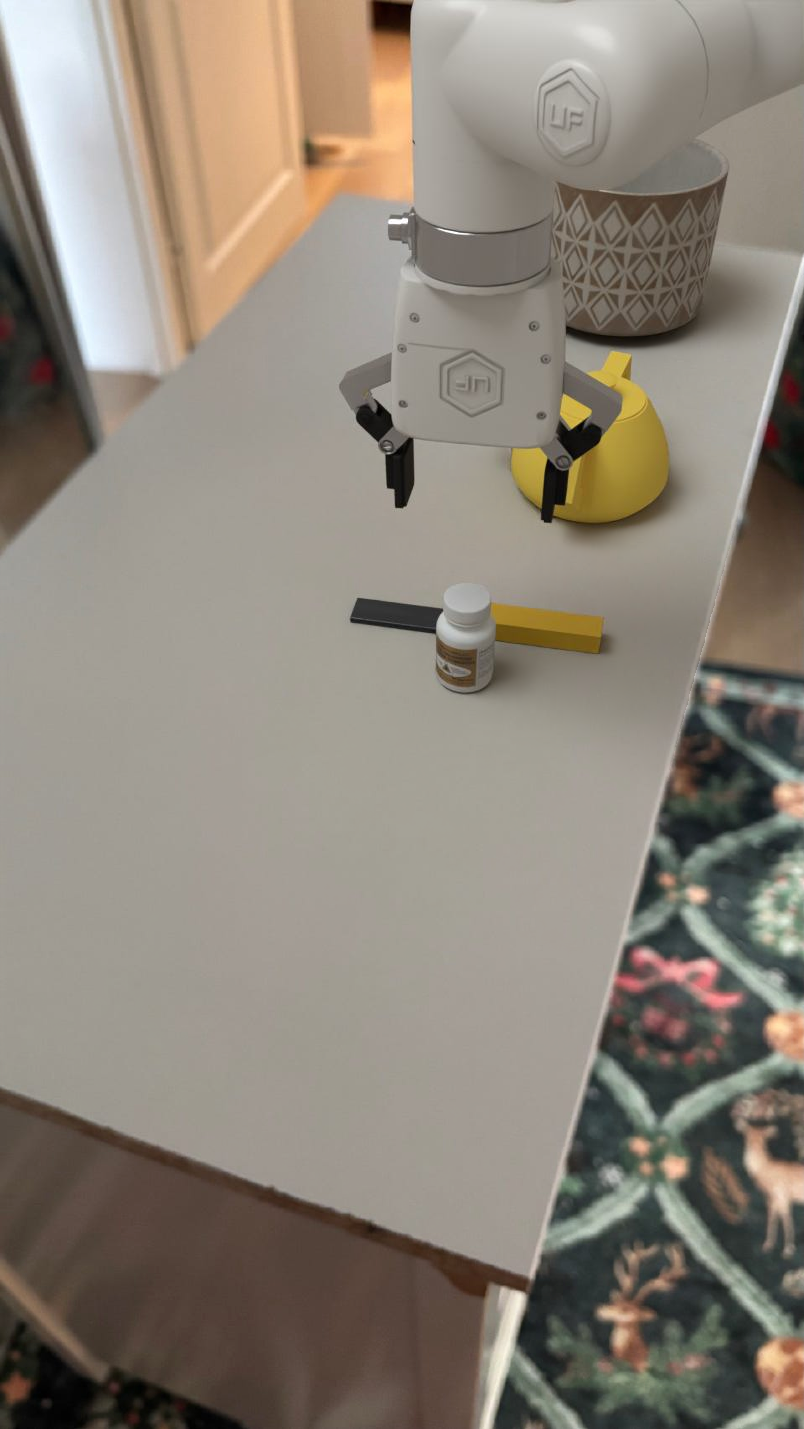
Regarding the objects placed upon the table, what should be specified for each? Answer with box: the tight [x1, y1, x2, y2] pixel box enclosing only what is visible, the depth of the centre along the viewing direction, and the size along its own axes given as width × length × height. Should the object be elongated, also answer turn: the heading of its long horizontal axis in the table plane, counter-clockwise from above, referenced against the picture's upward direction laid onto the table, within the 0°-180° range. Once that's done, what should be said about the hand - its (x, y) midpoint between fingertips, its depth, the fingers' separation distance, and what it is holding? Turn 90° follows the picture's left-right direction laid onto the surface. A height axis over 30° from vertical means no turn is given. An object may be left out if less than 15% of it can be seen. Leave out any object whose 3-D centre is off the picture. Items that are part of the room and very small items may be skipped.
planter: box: [550, 138, 730, 337], centre depth 119 cm, size 19×19×16 cm
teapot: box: [510, 350, 670, 524], centre depth 97 cm, size 20×18×11 cm
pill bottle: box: [435, 582, 496, 693], centre depth 80 cm, size 4×4×8 cm
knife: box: [349, 597, 604, 655], centre depth 86 cm, size 20×3×2 cm, turn 78°
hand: (475, 503), depth 71 cm, fingers open, 9 cm apart
